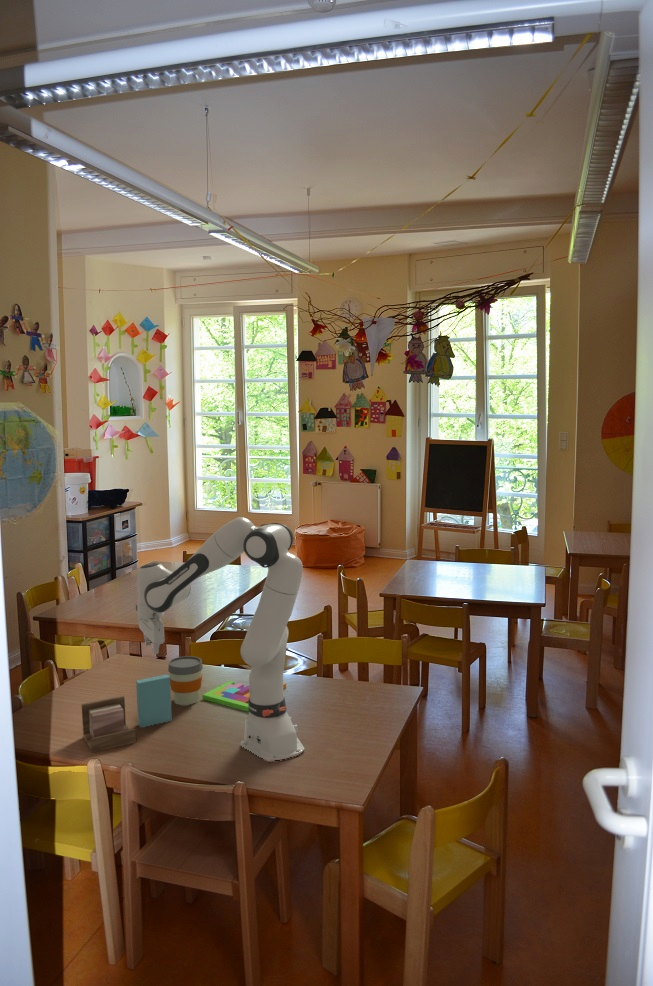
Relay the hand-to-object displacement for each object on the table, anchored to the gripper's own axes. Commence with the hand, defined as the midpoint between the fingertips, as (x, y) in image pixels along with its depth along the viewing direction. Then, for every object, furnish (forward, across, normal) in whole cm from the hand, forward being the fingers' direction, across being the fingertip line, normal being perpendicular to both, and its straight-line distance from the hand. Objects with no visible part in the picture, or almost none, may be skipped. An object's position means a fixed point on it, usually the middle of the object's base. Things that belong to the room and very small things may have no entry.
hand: (151, 649), depth 264 cm
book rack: (+27, -6, +16) cm, 32 cm away
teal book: (+26, -1, 0) cm, 27 cm away
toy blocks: (+27, +7, -38) cm, 47 cm away
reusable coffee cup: (+27, +13, -16) cm, 34 cm away
